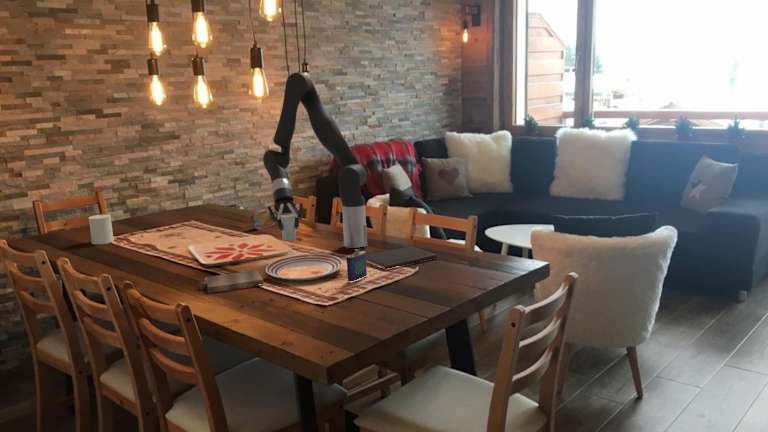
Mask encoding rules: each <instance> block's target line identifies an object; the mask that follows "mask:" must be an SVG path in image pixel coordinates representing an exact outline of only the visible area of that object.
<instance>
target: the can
mask: <svg viewBox="0 0 768 432" xmlns="http://www.w3.org/2000/svg"><path fill="white" fill-rule="evenodd" d="M111 217H112V215H111V214H105V213H103V214H96V215H91V216H89V217H88V218H87V219H88V223H89V231H90V238H91V244H92V245H106V244H111V243H113V242H115V238H114V233H113V225H112V224H113V223H112V218H111ZM110 242H111V243H110Z"/></svg>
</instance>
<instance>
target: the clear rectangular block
mask: <svg viewBox="0 0 768 432" xmlns="http://www.w3.org/2000/svg"><path fill="white" fill-rule="evenodd" d="M273 213H274V215H275V217H278V212H277V211H276V210H274V212H273ZM249 220H250V226H251V227H252V228H253V229H254V230H259V231H260V230H263V229H268V228H270V227H273V226H275V225H276V223H277V222H272V220H271V218H270V215H269V213H268V208H266V209H261V210H258V211H255V212H253V213H252V214H251V215H250V219H249ZM267 227H268V228H267Z"/></svg>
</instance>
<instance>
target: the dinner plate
mask: <svg viewBox="0 0 768 432" xmlns="http://www.w3.org/2000/svg"><path fill="white" fill-rule="evenodd" d="M315 265H316V266H318V265H319V266H321V267H325V268H326V267H327V269H328V272H327V271H326V272H325V273H323V274H322V275H319V276H314V277H306V278H285V277H283V276H281V275H280V274H279V273H280V271H281V270H284V269H285V268H291V267H293V268H294V267H299V266H301V267H302V266H315ZM343 266H344V261H343V260H342V258H340V257H338V256H336V255H332V254H324V253H323V254H322V253H309V254H308V253H307V254H305V253H304V254H296V255H290V256H286V257H282V258H278V259H276V260H274V261H272V262H270V263H268V264H267V265H266V266H265V273H267V275H270V276H271V277H274V278H278V279H282V280H286V279H287V281H293V280H305V281H310V280H309V279H313V280H317V279H316V278H318V279H321V278H320V277H322V278H324V277H326V276H329V275H332V274H333V273H335V272H337V271H339V270H340V269H341V268H342V267H343Z"/></svg>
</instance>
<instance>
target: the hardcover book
mask: <svg viewBox="0 0 768 432" xmlns="http://www.w3.org/2000/svg"><path fill="white" fill-rule="evenodd" d="M433 258H437V259H438V256H437V254H436V253H432V252H429V251H427V250H425V249H422V248H419V247H415V246H413V245H411V246H410V245H409V246H407V247H406V246H405V247H401V248H397V249H391V250H388V251H383V252H378V253H373V254H369V255H367V254H366V261H367V262H370V263H372V264H375V265H377V266H380V267H382V268H385V269H387V268H392V267H396V266H402V265H407V264H412V263H417V262H420V261H424V260H429V259H433Z"/></svg>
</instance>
